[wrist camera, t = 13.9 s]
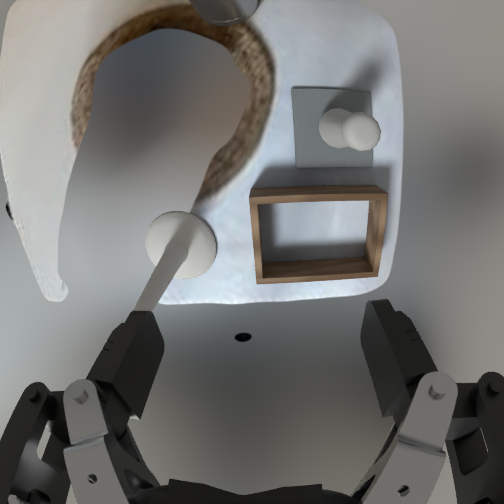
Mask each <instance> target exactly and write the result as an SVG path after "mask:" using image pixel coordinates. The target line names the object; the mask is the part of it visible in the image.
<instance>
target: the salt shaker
mask: <svg viewBox="0 0 504 504" xmlns="http://www.w3.org/2000/svg"><path fill="white" fill-rule="evenodd" d="M319 132H320V135H321V137H322V139H323V140H324V141H325V142H326V143H327V144H328V145H330V146H332V147H335V148H345V147H351V148H353V149H356V150H358V151H365V150H370V149H372V148H373V147H375V146H376V145H377V143H378V142H379V140H380V133H381V130H380V127H379V124H378V122H377V121H376V120H375V119H374V118H373V117H372V116H371V115H368V114H366V113H363V112H355V113H351V112H349V111H347V110H344V109H341V108H336V109H330V110H329V111H327V112H326V113H324V114H323V116H322V117H321V119H320V121H319Z"/></svg>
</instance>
